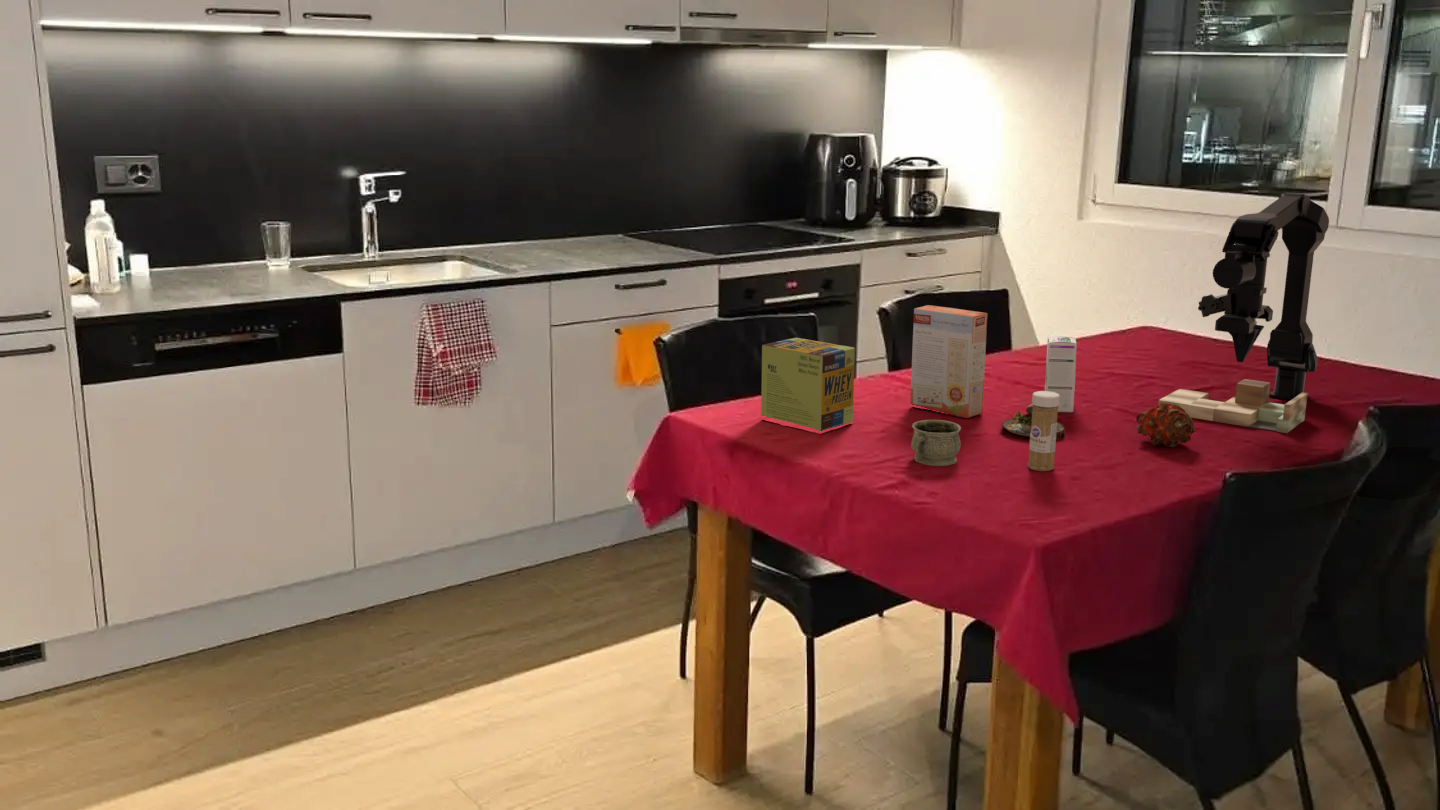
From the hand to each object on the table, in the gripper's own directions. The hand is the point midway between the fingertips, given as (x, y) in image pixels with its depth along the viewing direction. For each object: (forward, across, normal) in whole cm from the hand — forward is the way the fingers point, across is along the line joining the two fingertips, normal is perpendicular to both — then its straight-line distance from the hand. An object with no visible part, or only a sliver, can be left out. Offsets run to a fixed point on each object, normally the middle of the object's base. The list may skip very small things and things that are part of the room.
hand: (1240, 361), depth 250 cm
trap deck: (+12, -3, -2) cm, 13 cm away
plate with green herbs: (+13, +31, -29) cm, 44 cm away
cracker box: (+12, +26, -50) cm, 57 cm away
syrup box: (+12, +11, -32) cm, 36 cm away
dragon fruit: (+12, +24, -6) cm, 28 cm away
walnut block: (+9, -7, +1) cm, 12 cm away
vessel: (+12, +58, -36) cm, 69 cm away
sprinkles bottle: (+12, +52, -19) cm, 57 cm away
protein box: (+12, +51, -68) cm, 85 cm away
